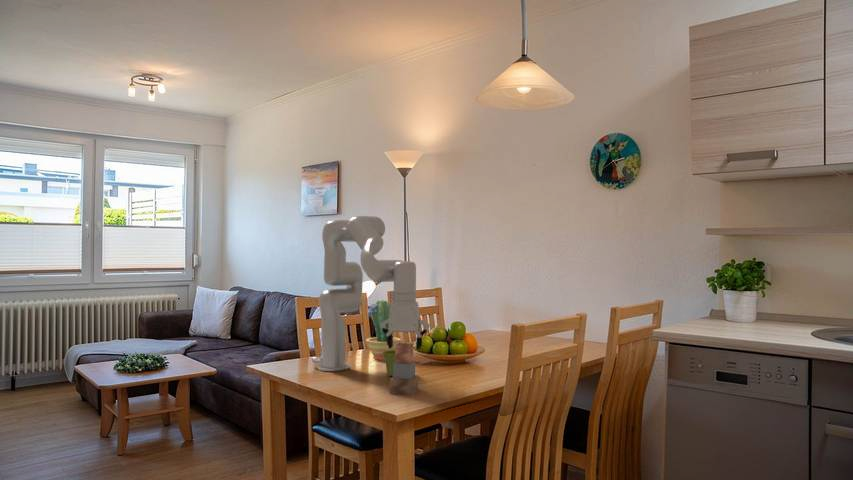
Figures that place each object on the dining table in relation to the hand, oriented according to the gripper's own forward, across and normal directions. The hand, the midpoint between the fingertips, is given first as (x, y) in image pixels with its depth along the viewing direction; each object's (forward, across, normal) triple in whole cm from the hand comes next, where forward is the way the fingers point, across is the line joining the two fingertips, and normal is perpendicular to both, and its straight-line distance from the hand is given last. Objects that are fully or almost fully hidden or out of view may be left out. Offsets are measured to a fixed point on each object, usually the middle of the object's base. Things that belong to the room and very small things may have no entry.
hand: (404, 348), depth 198 cm
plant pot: (+15, -9, +23) cm, 29 cm away
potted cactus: (+15, -22, +55) cm, 61 cm away
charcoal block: (+10, 0, -1) cm, 10 cm away
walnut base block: (+15, 0, -1) cm, 15 cm away
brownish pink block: (+5, 0, 0) cm, 5 cm away
